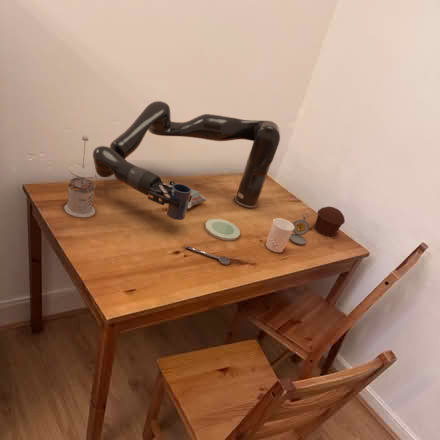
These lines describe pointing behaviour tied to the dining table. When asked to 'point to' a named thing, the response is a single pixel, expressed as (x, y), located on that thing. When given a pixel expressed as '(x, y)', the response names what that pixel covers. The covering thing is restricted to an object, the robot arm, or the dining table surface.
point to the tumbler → (182, 195)
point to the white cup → (279, 234)
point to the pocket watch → (296, 237)
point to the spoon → (221, 259)
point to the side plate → (222, 229)
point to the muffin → (329, 221)
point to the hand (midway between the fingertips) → (185, 202)
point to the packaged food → (196, 198)
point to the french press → (81, 190)
